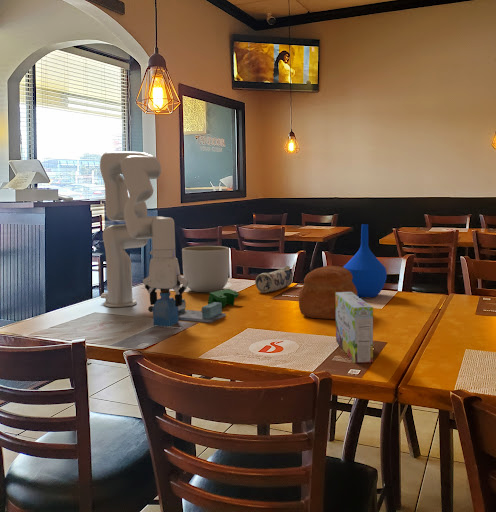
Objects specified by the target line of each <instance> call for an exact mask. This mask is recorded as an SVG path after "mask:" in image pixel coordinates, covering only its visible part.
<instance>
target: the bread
mask: <svg viewBox="0 0 496 512" xmlns="http://www.w3.org/2000/svg"><path fill="white" fill-rule="evenodd" d="M352 279H353V276H352V274H351V272H350V271H349V270H347V269H346V268H344V266H340V265H339V266H338V265H324V266H322V267H317V268H314V269H313V270H311V271H310V272H307V274H306V275H305V277H304V278H303V286H302V288H301V289H300V291H299V294H298V307H299V310H300V311H299V312H300V313H301V315H302V316H305V317H308V318H313V319H321V320H336V303H335V293H336V292H352V293H354V294H355V295H357V290H356V287H355V285H354V284H353V282H352Z"/></svg>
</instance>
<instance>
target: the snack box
mask: <svg viewBox="0 0 496 512" xmlns="http://www.w3.org/2000/svg"><path fill="white" fill-rule="evenodd" d="M335 303H336V319H335V341H336V343H337V344H338V345H339V347H341V349H342V350H343V351H344V352H345V354H346V353H347V354H346V355H347V356H348V358H349V359H350V358H351V359H352V360H351V359H350V360H351V361H352V362H353V364H368V363H371V362H372V363H374V307H373V306H372V305H371V304H370V303H368V302H366V301H365V300H363V298H359V297H358V296H357V295H355V294H354V293H352V292H336V293H335Z"/></svg>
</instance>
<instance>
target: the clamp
mask: <svg viewBox="0 0 496 512" xmlns="http://www.w3.org/2000/svg"><path fill="white" fill-rule="evenodd" d="M236 298H239V292H238V291H236V290H233V289H231V288H225V289H221V290H220V291H215V292H209V295H208V301H207V305H208V304H211V303H213V302H219V303H222V309H225V308H226V305H229V306H233V307H234V305H235V301H236V300H235V299H236Z"/></svg>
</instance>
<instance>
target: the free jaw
mask: <svg viewBox="0 0 496 512" xmlns="http://www.w3.org/2000/svg"><path fill="white" fill-rule="evenodd" d="M186 303H187V302H186V299H185V298H184V299H183V298H182V305H180V306H178V313H179V312H182V311H184V310H186V308H187V306H186ZM153 306H154V305H150V306H148V308H147V310H148V312H149V313H153Z"/></svg>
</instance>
